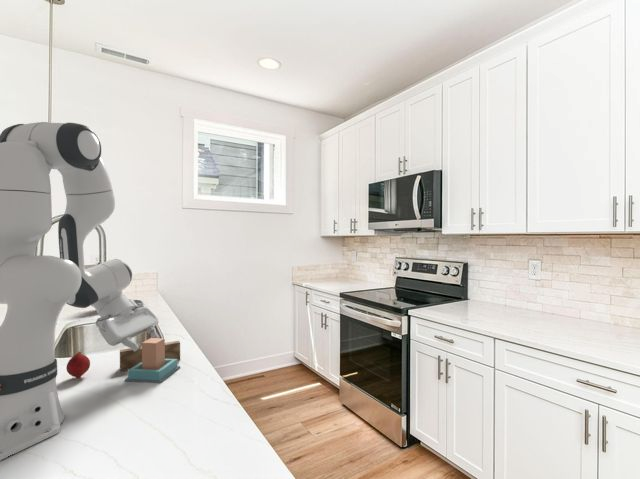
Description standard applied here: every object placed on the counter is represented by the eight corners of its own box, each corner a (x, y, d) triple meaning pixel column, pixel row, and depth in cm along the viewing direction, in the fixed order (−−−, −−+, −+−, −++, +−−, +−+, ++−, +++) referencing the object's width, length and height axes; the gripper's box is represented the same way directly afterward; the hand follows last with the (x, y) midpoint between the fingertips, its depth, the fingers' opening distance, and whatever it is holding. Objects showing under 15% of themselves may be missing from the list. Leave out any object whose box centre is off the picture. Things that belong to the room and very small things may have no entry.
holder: (160, 383, 98) (160, 372, 98) (124, 381, 99) (124, 371, 99) (180, 367, 109) (180, 358, 109) (147, 366, 110) (147, 357, 110)
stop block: (156, 375, 102) (156, 343, 101) (142, 375, 102) (141, 342, 102) (164, 369, 106) (164, 338, 106) (151, 369, 107) (151, 338, 106)
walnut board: (179, 357, 118) (179, 340, 118) (180, 359, 116) (180, 342, 116) (119, 368, 109) (119, 349, 109) (119, 370, 107) (119, 352, 107)
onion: (77, 382, 98) (77, 355, 98) (61, 381, 100) (61, 354, 99) (94, 374, 104) (94, 349, 104) (79, 373, 105) (79, 347, 105)
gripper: (99, 312, 94) (132, 348, 93) (145, 299, 115) (172, 328, 114) (85, 327, 95) (117, 363, 94) (133, 312, 115) (160, 341, 114)
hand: (147, 344), depth 104 cm, fingers open, 8 cm apart
